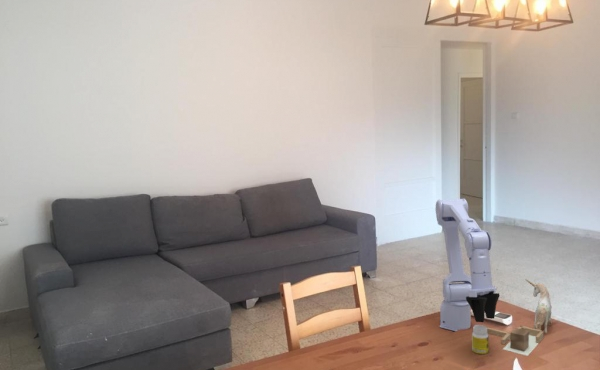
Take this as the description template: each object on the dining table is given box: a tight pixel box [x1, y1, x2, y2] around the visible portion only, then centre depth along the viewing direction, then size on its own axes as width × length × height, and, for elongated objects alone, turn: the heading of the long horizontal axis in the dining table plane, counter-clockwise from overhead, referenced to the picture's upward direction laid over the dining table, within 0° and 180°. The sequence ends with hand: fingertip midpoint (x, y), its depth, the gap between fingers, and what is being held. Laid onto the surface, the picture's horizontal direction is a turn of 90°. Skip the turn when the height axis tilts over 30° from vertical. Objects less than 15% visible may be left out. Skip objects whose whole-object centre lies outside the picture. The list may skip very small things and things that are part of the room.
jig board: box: [486, 325, 545, 357], centre depth 156 cm, size 16×16×3 cm
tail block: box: [509, 327, 529, 352], centre depth 150 cm, size 4×4×5 cm
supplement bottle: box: [471, 324, 490, 355], centre depth 149 cm, size 5×5×8 cm
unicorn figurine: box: [525, 278, 553, 334], centre depth 165 cm, size 7×20×13 cm, turn 166°
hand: (485, 320), depth 144 cm, fingers open, 7 cm apart
